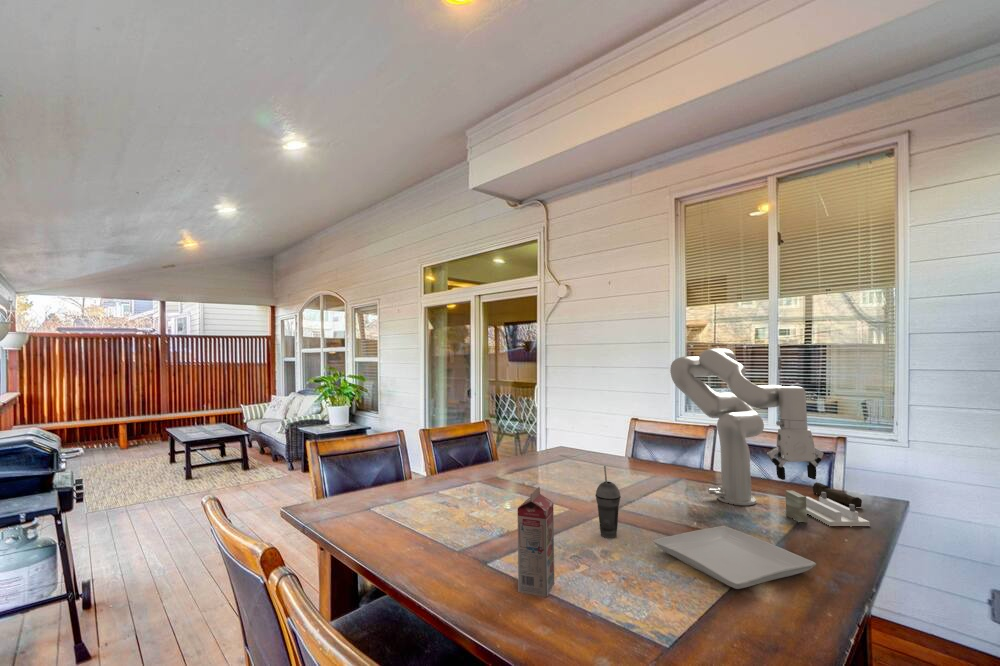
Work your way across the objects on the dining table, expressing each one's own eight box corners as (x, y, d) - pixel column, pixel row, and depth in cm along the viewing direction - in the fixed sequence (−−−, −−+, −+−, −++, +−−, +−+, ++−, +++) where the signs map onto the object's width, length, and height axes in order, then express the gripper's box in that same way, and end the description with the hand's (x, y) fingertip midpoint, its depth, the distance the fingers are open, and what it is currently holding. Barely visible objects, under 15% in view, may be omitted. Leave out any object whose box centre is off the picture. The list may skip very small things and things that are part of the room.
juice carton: (518, 592, 107) (517, 493, 108) (527, 578, 113) (526, 485, 114) (546, 597, 105) (545, 495, 106) (554, 583, 111) (553, 487, 112)
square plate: (737, 601, 103) (737, 582, 103) (650, 553, 128) (650, 538, 128) (818, 576, 114) (818, 560, 114) (723, 536, 139) (723, 523, 139)
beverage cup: (607, 542, 135) (605, 471, 135) (590, 533, 141) (589, 465, 142) (626, 537, 138) (625, 468, 139) (610, 529, 144) (608, 463, 145)
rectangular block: (799, 522, 149) (798, 496, 149) (786, 515, 156) (785, 490, 156) (807, 522, 149) (806, 496, 149) (793, 515, 156) (792, 490, 156)
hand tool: (863, 509, 162) (862, 495, 162) (852, 509, 161) (851, 495, 162) (820, 493, 181) (819, 481, 181) (810, 493, 180) (810, 481, 180)
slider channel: (830, 526, 145) (829, 507, 146) (794, 507, 163) (794, 490, 164) (869, 526, 145) (868, 507, 145) (829, 507, 163) (829, 490, 163)
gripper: (773, 426, 150) (776, 482, 149) (828, 425, 150) (831, 481, 149) (760, 423, 158) (763, 476, 156) (813, 423, 157) (816, 475, 156)
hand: (796, 478), depth 153 cm, fingers open, 9 cm apart
